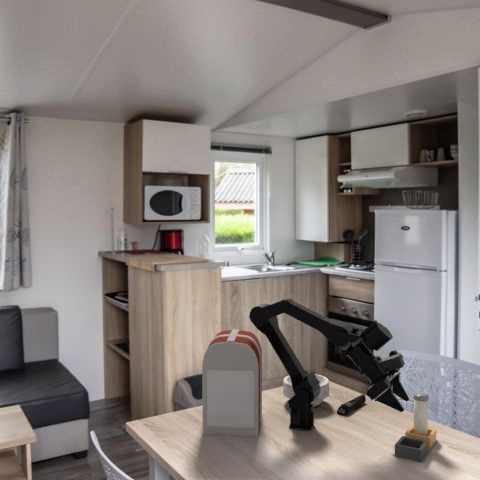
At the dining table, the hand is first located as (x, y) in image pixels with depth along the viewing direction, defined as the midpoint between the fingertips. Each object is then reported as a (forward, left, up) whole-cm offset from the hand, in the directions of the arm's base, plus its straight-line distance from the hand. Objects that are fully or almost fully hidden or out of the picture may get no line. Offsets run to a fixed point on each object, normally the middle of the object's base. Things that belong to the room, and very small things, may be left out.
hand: (405, 405), depth 153 cm
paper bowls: (-32, +25, -11) cm, 41 cm away
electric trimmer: (-16, +24, -11) cm, 31 cm away
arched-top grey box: (-49, +1, -11) cm, 51 cm away
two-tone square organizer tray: (+3, -5, -10) cm, 12 cm away
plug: (+4, -1, -9) cm, 10 cm away
